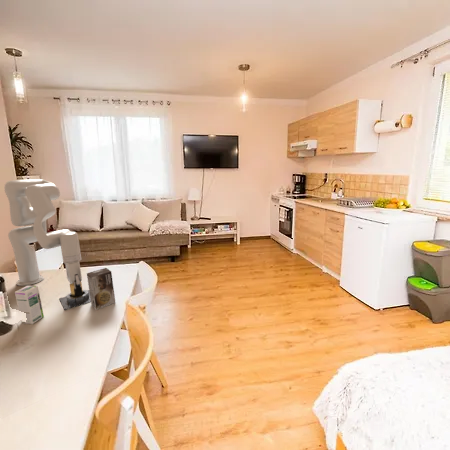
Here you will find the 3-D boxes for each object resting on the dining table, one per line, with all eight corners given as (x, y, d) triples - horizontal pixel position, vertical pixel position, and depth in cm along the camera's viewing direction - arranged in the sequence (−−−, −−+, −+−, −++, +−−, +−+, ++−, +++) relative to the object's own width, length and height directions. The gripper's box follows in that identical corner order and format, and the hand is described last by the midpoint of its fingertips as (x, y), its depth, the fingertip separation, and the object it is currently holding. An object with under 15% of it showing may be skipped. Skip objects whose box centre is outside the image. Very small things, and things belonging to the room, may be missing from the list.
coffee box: (110, 298, 132) (106, 267, 129) (115, 302, 128) (112, 270, 124) (90, 305, 126) (86, 272, 123) (95, 310, 122) (91, 276, 118)
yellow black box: (71, 298, 132) (68, 282, 131) (82, 295, 135) (79, 279, 134) (73, 302, 128) (70, 285, 127) (84, 298, 132) (82, 282, 130)
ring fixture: (59, 298, 133) (58, 293, 132) (90, 290, 141) (89, 285, 141) (64, 310, 122) (63, 304, 122) (97, 300, 131) (96, 294, 130)
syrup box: (32, 324, 112) (26, 292, 108) (20, 323, 113) (14, 291, 110) (44, 316, 117) (38, 285, 114) (32, 315, 118) (26, 285, 115)
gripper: (59, 255, 131) (65, 289, 135) (66, 264, 118) (72, 302, 122) (76, 252, 136) (81, 285, 140) (85, 260, 123) (90, 297, 127)
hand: (77, 292), depth 131 cm, fingers open, 5 cm apart
